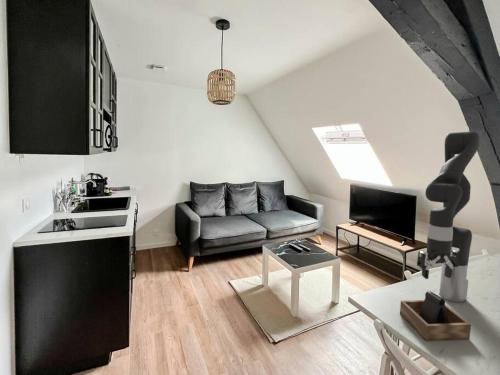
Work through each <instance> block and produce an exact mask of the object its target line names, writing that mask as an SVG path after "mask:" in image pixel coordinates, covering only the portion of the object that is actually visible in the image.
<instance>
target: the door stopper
mask: <svg viewBox="0 0 500 375" xmlns="http://www.w3.org/2000/svg"><path fill="white" fill-rule="evenodd" d="M424 295H425V297H424V299H423V300H424V303H423V305H422V308H421V310H420V313H419V316H420V317H421V318H422V319H423V320H424V321H425V322H426V323H428V324H445V323H449V321H448V317H447V313H446V309H445V305H446V299H445V298H443V297H441V296H440V295H439V294H438V295H437V294H436V293H434V292H432V291H431V290H429V291H426V292H425V294H424Z"/></svg>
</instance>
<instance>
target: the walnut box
mask: <svg viewBox="0 0 500 375" xmlns="http://www.w3.org/2000/svg"><path fill="white" fill-rule="evenodd" d="M424 300H425V299H414V300H413V299H411V300H410V299H409V300H408V299H407V300H406V299H405V300H400V304H399V306H400V309H399V315H400V316H401V317H402V318H403V319H404V320H405V321H406V322H407V323H408V324H409V325H410V326H411V327H412V328H413V330H414V331H416V332H417V334H418V335H419V336H421V338H422V340H425V341H426V342H438V341H439V342H443V341H445V342H446V341H467V340H470V339H471V338H470V337H471V329H472V324H471V323H470V322H469V321H467V320H466V319H465V318H464V317H462V316H461V315H460V314H458V313H457V312H456V311H454V310H453V309H452V308H450V307H449V306H448V305H446V304H445V309H446V313H447V317H448V321H449V323H445V324H428V323H426V322H425V321H424V320H423V319H422V318H421V317H420V316H419V313H420V310H421V308H422V305H423V303H424Z"/></svg>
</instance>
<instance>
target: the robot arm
mask: <svg viewBox="0 0 500 375" xmlns="http://www.w3.org/2000/svg"><path fill="white" fill-rule="evenodd" d="M479 146H480V135H479V133H478V132H476V131H458V132H457V131H456V132H448V133H447V134H446V136H445V139H444V163H443V165H442V166H441V169H440V171H439V174H438V175H437V176H436V177H435V178H433V180H432V181H431V182H429V184H428V185H427V187H426V189H425V192H424V195H425V198H426V199H427V200H428V201H430V202H434V203H441V204H443V206H442V207H435V208H432V209H430V212H429V221H428V222H429V223H428V227H427V236H426V237H427V239H426V241H427V242H426V249H427V250H426V251H421V250H419V251H418V254H417V260H416V266H418V267H419V268H421V276H422V278H424V279H425V280H429V277H430V276H429V274H430V269H431V267H433V266H434V265H435V264H436V265H437V264H441V272H440V282H439V285H440V286H439V294H438V295H439V297H441V298H442V299H444V300H447V301H450V302H454V303H462V302H464V301H467V298H468V297H467V296H468V290H469V289H468V287H469V279H467V277H468V268H469V266H468V265H469V259H470V252H471V251H470V250H471V246H472V239H473V233H472V231H471V230H470V229H469V228H464V227H459V226H454V218H456V216H457V215H458V213H459V212H461V211H462V209H464V208H465V206H467V204H468V203H469V202H470V199H471V187H472V186H471V182H470V181H469V179H468V178H467V177H466V175H465V174H464V172H465V171H466V170H465V169H466V168H467V167H468V165H469V163H470V162H471V161H472V159H473V158H474V156H475V155H476V153H477V151H478V149H479ZM452 248H455V249H458V251H457V250H454V249H452Z"/></svg>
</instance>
